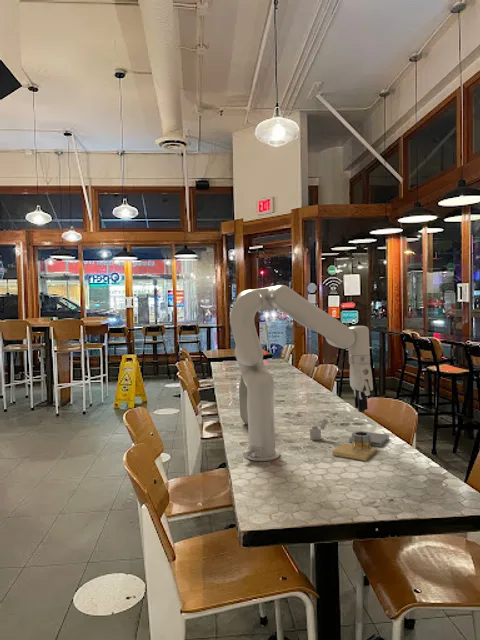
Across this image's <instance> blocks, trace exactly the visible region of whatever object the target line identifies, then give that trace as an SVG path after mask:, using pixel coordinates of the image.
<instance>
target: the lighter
mask: <svg viewBox="0 0 480 640" xmlns="http://www.w3.org/2000/svg"><path fill="white" fill-rule="evenodd" d="M328 422H329V420H328V419H326V418H323V420H322V422H321V425H320V426H319V427H318V425H312V426H311V427H309V440H310V441H311V440H312V441H314V440H315V441H316V440H322V434H321V433H322V431H321V430H323V431H324V430H325V429H326V426H327V424H328Z"/></svg>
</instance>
